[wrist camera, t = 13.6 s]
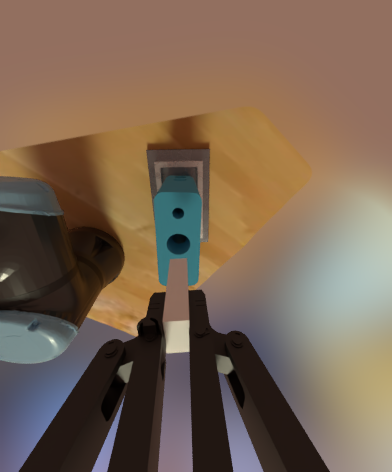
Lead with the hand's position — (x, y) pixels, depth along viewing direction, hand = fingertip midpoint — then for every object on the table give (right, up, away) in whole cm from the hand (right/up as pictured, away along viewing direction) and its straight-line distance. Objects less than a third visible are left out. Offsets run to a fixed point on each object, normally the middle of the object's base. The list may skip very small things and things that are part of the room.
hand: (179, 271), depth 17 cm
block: (-2, +11, +23) cm, 26 cm away
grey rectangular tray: (-2, +11, +24) cm, 26 cm away
